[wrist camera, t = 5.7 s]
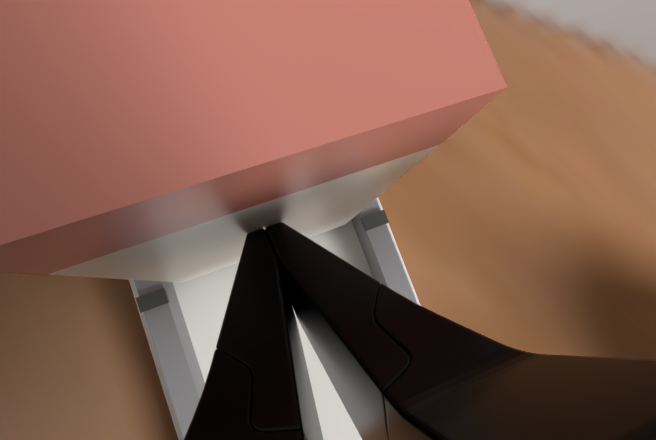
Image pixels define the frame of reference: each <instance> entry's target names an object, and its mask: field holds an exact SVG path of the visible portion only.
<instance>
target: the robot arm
mask: <svg viewBox="0 0 656 440" xmlns="http://www.w3.org/2000/svg"><path fill="white" fill-rule="evenodd" d="M265 230H266V231H265ZM265 230H264V229H259V230H256V231H253V232H250V233H248V234H247V236H246V239H245V243H244V246H243V250H242V253H241V257H240V261H239V264H238V268H237V272H236V275H235V279H234V283H233V286H232V290H231V294H230V297H229V301H228V305H227V308H226V312H225V316H224V319H223V323H222V327H221V330H220V334H219V338H218V341H217V345H216V350H215V352H214V355H213V359H212V363H211V366H210V370H209V373H208V376H207V379H206V382H205V386H204V389H203V392H202V395H201V397H200V400H199V402H198V405H197V408H196V410H195V413H194V416H193V418H192V421H191V423H190V426H189V428H188V431H187V433H186V435H185V438H184V440H323V435H322V431H321V426H320V422H319V418H318V413H317V409H316V404H315V400H314V395H313V391H312V387H311V382H310V378H309V373H308V369H307V364H306V360H305V356H304V351H303V347H302V342H301V338H300V333H299V329H298V325H297V321H296V317H295V314H296V316H297V318H298V320H299V323H300V324H301V326H302V328H303V330H304V332H305V334H306V336H307V338H308V339H309V341H310V343H311V345H312V347H313V349H314V351H315V352H316V354H317V356H318V358H319V360H320V362H321V364H322V365H323V367H324V369H325V371H326V373H327V375H328V377H329V379H330V380H331V382H332V384H333V386H334V388H335V390H336V392H337V393H338V395H339V397H340V399H341V401H342V403H343V405H344V406H345V408H346V410H347V412H348V414H349V416H350V418H351V419H352V421H353V423H354V425H355V427H356V429H357V431H358V433H359V434H360V436H361V438H362V440H656V360H648V359H628V358H607V357H587V356H566V355H546V354H535V353H529V352H525V351H521V350H517V349H514V348H511V347H508V346H506V345H503V344H501V343H499V342H496V341H494V340H492V339H490V338H488V337H485V336H483V335H481V334H479V333H477V332H475V331H473V330H470V329H468V328H466V327H464V326H462V325H460V324H458V323H455V322H453V321H451V320H449V319H447V318H445V317H443V316H440V315H438V314H436V313H434V312H432V311H430V310H428V309H426V308H424V307H422V306H420V305H418V304H416V303H414V302H413V301H411V300H409V299H407V298H406V297H404V296H402V295H400V294H399V293H397V292H395V291H394V290H392V289H390V288H389V287H387V286H385V285H384V284H380V282H379V281H377V280H375V279H374V278H372V277H371V276H369V275H367V274H366V273H364V272H363V271H361V270H359V269H358V268H356V267H354V266H353V265H351V264H350V263H348V262H346V261H345V260H343V259H341V258H340V257H338V256H337V255H335V254H333V253H332V252H330V251H328V250H327V249H325V248H324V247H322V246H320V245H319V244H317V243H315V242H314V241H312V240H311V239H309V238H307V237H306V236H304V235H302V234H301V233H299V232H298V231H296V230H294V229H293V228H291V227H289V226H288V225H286V224H285V223H283V222H279V223H276V224H274V225H271V226H268V227H266V229H265ZM293 309H294V310H293ZM294 312H295V314H294Z"/></svg>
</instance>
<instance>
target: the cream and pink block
mask: <svg viewBox="0 0 656 440" xmlns="http://www.w3.org/2000/svg"><path fill="white" fill-rule="evenodd" d="M506 88H507V85H506V83H505V81H504V79H503V76H502V74H501V72H500V70H499V67H498V65H497V63H496V61H495V58H494V56H493V54H492V52H491V49H490V47H489V45H488V43H487V40H486V38H485V36H484V34H483V31H482V29H481V27H480V25H479V22H478V20H477V18H476V16H475V13H474V11H473V9H472V7H471V4H470V2H469V0H0V272H7V273H24V274H42V275H59V276H76V277H93V278H110V279H127V280H144V281H161V282H178V283H184V282H187V281H189V280H192V279H195V278H198V277H201V276H203V275H206V274H209V273H212V272H215V271H217V270H220V269H223V268H226V267H229V266H231V265H234V264H237V263H239V261H240V257H241V253H242V250H243V246H244V243H245V239H246V236H247V234H248V233H250V232H253V231H256V230H259V229H264V230H265V229H266V227H268V226H271V225H274V224H276V223H279V222H283V223H285V224H286V225H288V226H289V227H291V228H293V229H294V230H296V231H298V232H299V233H301V234H302V235H304V236H306V237H307V238H310V237H313V236H316V235H318V234H321V233H324V232H327V231H330V230H332V229H335V228H338V227H341V226H344V225H345V224H347V223H348V222H349V221H350V220H351V219H353V218H354V217H355V216H356V215H357V214H358V213H360V212H361V211H362V210H363V209H364V208H366V207H367V206H368V205H369V204H370V203H371V202H373V201H374V200H375V199H376V198H377V197H378V196H380V195H381V194H382V193H383V192H384V191H386V190H387V189H388V188H389V187H390V186H391V185H393V184H394V183H395V182H396V181H397V180H399V179H400V178H401V177H402V176H403V175H404V174H406V173H407V172H408V171H409V170H410V169H412V168H413V167H414V166H415V165H416V164H417V163H419V162H420V161H421V160H422V159H423V158H425V157H426V156H427V155H428V154H429V153H430V152H432V151H433V150H434V149H435V148H436V147H438V146H439V145H440V144H441V143H442V142H443V141H445V140H446V139H447V138H448V137H449V136H450V135H452V134H453V133H454V132H455V131H456V130H458V129H459V128H460V127H461V126H462V125H463V124H465V123H466V122H467V121H468V120H469V119H471V118H472V117H473V116H474V115H475V114H476V113H478V112H479V111H480V110H481V109H482V108H484V107H485V106H486V105H487V104H488V103H489V102H491V101H492V100H493V99H494V98H495V97H497V96H498V95H499V94H500V93H501V92H502V91H504V90H505V89H506ZM265 231H266V230H265Z"/></svg>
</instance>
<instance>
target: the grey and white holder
mask: <svg viewBox="0 0 656 440" xmlns="http://www.w3.org/2000/svg"><path fill="white" fill-rule="evenodd" d="M388 223H389V221H388V219H387V216H386V214H385V211H384V210H383V208H382V206H381V203H380V201H379V198H378V197H377V198H376V199H375V200H374V201H373V202H371V203H370V204H369V205H368V206H367V207H366V208H364V209H363V210H362V211H361V212H360V213H358V214H357V215H356V216H355V217H354V218H353V219H351V220H350V221H349V222H348V223H347V224H345V225H344V226H341V227H338V228H335V229H332V230H330V231H327V232H324V233H321V234H318V235H316V236H313V237H310V238H309V239H311V240H312V241H314V242H315V243H317V244H319V245H320V246H322V247H324V248H325V249H327V250H328V251H330V252H332V253H333V254H335V255H337V256H338V257H340V258H341V259H343V260H345V261H346V262H348V263H350V264H351V265H353V266H354V267H356V268H358V269H359V270H361V271H363V272H364V273H366V274H367V275H369V276H371V277H372V278H374V279H375V280H377V281H379V282H380V284H384V285H385V286H387V287H389V288H390V289H392V290H394V291H395V292H397V293H399V294H400V295H402V296H404V297H406V298H407V299H409V300H411V301H413V302H414V303H416V304H418V305H420V303H419V300H418V298H417V295H416V293H415V290H414V287H413V285H412V282H411V280H410V277H409V275H408V272H407V270H406V267H405V265H404V262H403V259H402V257H401V254H400V252H399V249H398V247H397V244H396V242H395V239H394V236H393V234H392V231H391V229H390V226H389V224H388ZM238 264H239V263H237V264H234V265H231V266H229V267H226V268H223V269H220V270H217V271H215V272H212V273H209V274H206V275H203V276H201V277H198V278H195V279H192V280H189V281H187V282H184V283H178V282H161V281H144V280H129V282H130V285H131V289H132V292H133V295H134V298H135V302H136V305H137V308H138V311H139V314H140V318H141V321H142V324H143V327H144V330H145V334H146V337H147V340H148V343H149V347H150V350H151V353H152V356H153V359H154V363H155V366H156V369H157V372H158V376H159V379H160V382H161V385H162V388H163V392H164V395H165V398H166V401H167V405H168V408H169V411H170V414H171V417H172V421H173V424H174V427H175V430H176V433H177V437H178V440H184V438H185V435H186V433H187V431H188V428H189V426H190V423H191V421H192V418H193V416H194V413H195V410H196V408H197V405H198V402H199V400H200V397H201V395H202V392H203V389H204V386H205V382H206V379H207V376H208V373H209V370H210V366H211V363H212V359H213V355H214V352H215V350H216V345H217V341H218V338H219V334H220V330H221V327H222V323H223V319H224V316H225V312H226V308H227V305H228V301H229V297H230V294H231V290H232V286H233V283H234V279H235V275H236V272H237V268H238ZM420 306H421V305H420ZM293 310H294V309H293ZM294 314H295V312H294ZM295 317H296V321H297V325H298V329H299V333H300V338H301V342H302V347H303V351H304V356H305V360H306V364H307V369H308V373H309V378H310V382H311V387H312V391H313V395H314V400H315V404H316V409H317V413H318V418H319V422H320V426H321V431H322V435H323V440H362V438H361V436H360V434H359V433H358V431H357V429H356V427H355V425H354V423H353V421H352V419H351V418H350V416H349V414H348V412H347V410H346V408H345V406H344V405H343V403H342V401H341V399H340V397H339V395H338V393H337V392H336V390H335V388H334V386H333V384H332V382H331V380H330V379H329V377H328V375H327V373H326V371H325V369H324V367H323V365H322V364H321V362H320V360H319V358H318V356H317V354H316V352H315V351H314V349H313V347H312V345H311V343H310V341H309V339H308V338H307V336H306V334H305V332H304V330H303V328H302V326H301V324H300V323H299V320H298V318H297V316H296V314H295Z"/></svg>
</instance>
